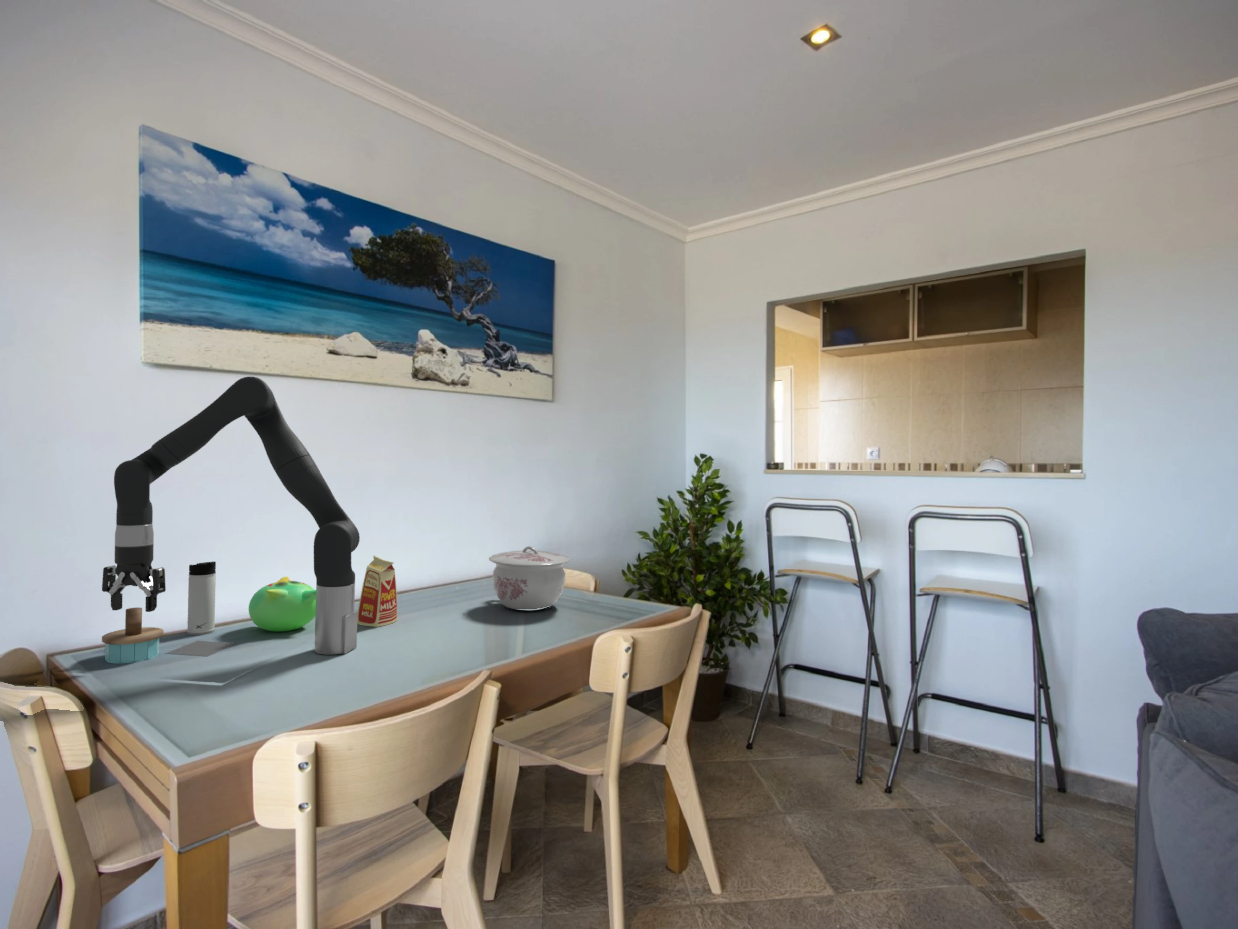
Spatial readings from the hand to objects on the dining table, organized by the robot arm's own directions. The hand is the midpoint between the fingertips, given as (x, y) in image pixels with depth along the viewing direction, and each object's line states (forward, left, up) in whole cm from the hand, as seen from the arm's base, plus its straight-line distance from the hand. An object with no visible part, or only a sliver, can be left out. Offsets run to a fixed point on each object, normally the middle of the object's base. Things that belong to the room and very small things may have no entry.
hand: (133, 610), depth 159 cm
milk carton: (-41, -44, -12) cm, 61 cm away
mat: (-11, -9, -12) cm, 18 cm away
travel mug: (-1, -22, -12) cm, 25 cm away
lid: (0, 0, -7) cm, 7 cm away
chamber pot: (-80, -74, -12) cm, 110 cm away
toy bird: (-20, -30, -12) cm, 38 cm away
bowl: (0, 0, -12) cm, 12 cm away
